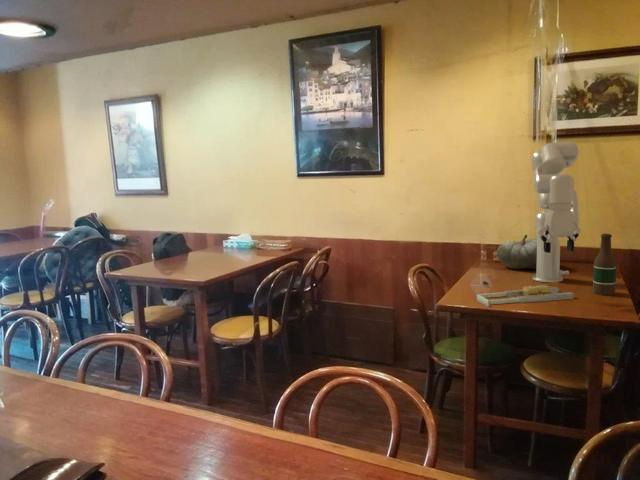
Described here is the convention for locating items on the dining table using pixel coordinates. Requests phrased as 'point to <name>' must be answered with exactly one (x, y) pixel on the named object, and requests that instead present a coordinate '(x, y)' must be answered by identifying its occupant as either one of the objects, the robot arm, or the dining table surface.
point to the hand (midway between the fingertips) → (558, 251)
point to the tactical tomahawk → (485, 284)
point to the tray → (484, 296)
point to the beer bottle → (604, 269)
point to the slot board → (544, 297)
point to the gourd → (519, 254)
